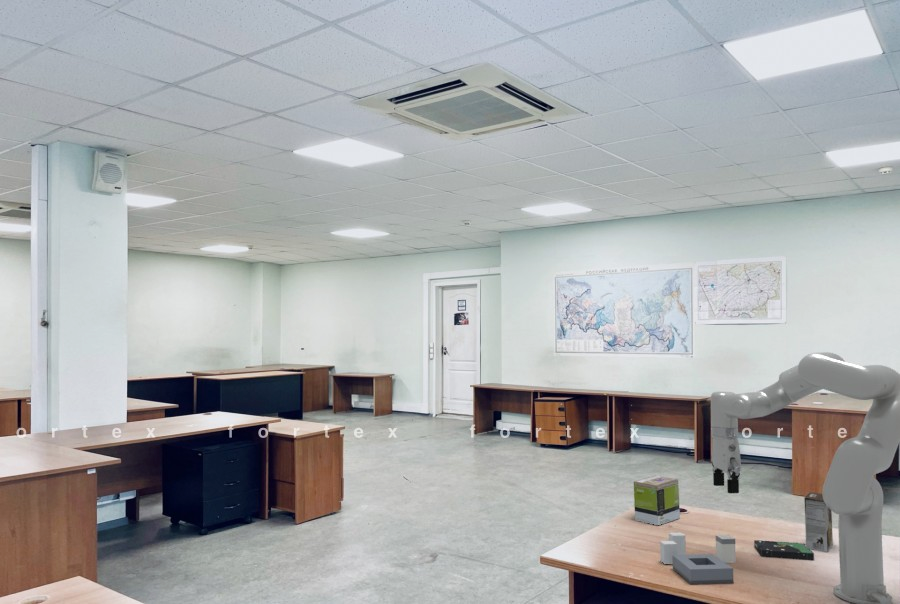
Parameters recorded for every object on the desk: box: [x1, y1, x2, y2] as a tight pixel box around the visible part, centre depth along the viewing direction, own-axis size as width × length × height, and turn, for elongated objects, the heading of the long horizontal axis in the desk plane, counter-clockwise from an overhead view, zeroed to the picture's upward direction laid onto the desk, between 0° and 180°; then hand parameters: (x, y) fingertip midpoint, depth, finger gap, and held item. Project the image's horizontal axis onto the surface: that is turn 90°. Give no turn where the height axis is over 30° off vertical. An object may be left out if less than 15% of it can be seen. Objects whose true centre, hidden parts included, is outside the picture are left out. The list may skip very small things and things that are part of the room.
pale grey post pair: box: [659, 532, 687, 565], centre depth 198 cm, size 11×10×6 cm
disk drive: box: [753, 539, 815, 561], centre depth 202 cm, size 10×3×15 cm
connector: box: [715, 534, 737, 564], centre depth 196 cm, size 4×4×7 cm
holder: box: [672, 553, 734, 585], centre depth 183 cm, size 12×12×4 cm
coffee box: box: [804, 491, 834, 553], centre depth 209 cm, size 9×6×16 cm
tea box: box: [633, 475, 681, 526], centre depth 241 cm, size 15×10×15 cm
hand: (725, 489), depth 198 cm, fingers open, 9 cm apart
